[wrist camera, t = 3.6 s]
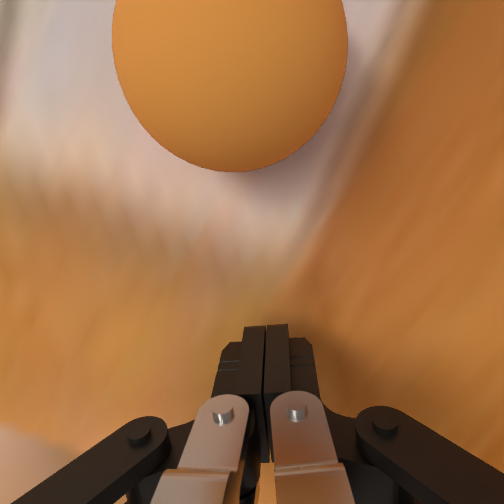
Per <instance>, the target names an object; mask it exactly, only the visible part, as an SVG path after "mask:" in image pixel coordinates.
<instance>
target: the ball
mask: <svg viewBox="0 0 504 504" xmlns="http://www.w3.org/2000/svg"><path fill="white" fill-rule="evenodd" d="M347 47H348V36H347V25H346V18H345V13H344V9H343V4H342V0H116V4H115V9H114V14H113V25H112V49H113V56H114V63H115V68H116V72H117V75H118V79H119V82H120V85H121V88H122V90H123V93H124V95H125V98H126V100H127V102H128V104H129V106H130V108H131V109H132V111H133V113H134V115H135V116H136V117H137V119H138V120H139V122H140V123H141V125H142V126H143V127H144V128H145V129H146V131H147V132H148V133H149V134H150V135H151V136H152V137H153V138H154V139H155V140H156V141H157V142H158V143H159V144H160V145H162V146H163V147H164V148H165V149H167V150H168V151H170V152H171V153H173V154H174V155H176V156H178V157H179V158H181V159H183V160H185V161H187V162H189V163H191V164H194V165H197V166H199V167H202V168H206V169H210V170H215V171H223V172H244V171H250V170H256V169H260V168H263V167H266V166H269V165H272V164H274V163H276V162H278V161H280V160H283V159H284V158H286V157H288V156H289V155H291V154H292V153H294V152H295V151H297V150H298V149H299V148H300V147H301V146H303V145H304V144H305V143H306V142H307V141H308V140H309V139H310V138H311V137H312V136H313V135H314V134H315V133H316V132H317V131H318V129H319V128H320V126H321V125H322V124H323V122H324V121H325V120H326V118H327V116H328V115H329V113H330V111H331V109H332V107H333V106H334V104H335V101H336V99H337V96H338V94H339V91H340V89H341V85H342V81H343V78H344V74H345V68H346V61H347Z"/></svg>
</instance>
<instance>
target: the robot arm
mask: <svg viewBox="0 0 504 504" xmlns="http://www.w3.org/2000/svg"><path fill="white" fill-rule="evenodd" d="M270 451H271V459H272V462H274V464H275V469H274V472H275V485H276V497H277V504H504V474H503V473H502V472H500V471H499V470H497V469H495V468H494V467H492V466H490V465H489V464H487V463H485V462H484V461H482V460H480V459H479V458H477V457H475V456H474V455H472V454H471V453H469V452H467V451H466V450H464V449H462V448H461V447H459V446H457V445H456V444H454V443H452V442H451V441H449V440H448V439H446V438H444V437H443V436H441V435H439V434H438V433H436V432H434V431H433V430H431V429H429V428H428V427H426V426H424V425H423V424H421V423H420V422H418V421H416V420H415V419H413V418H411V417H410V416H408V415H406V414H405V413H403V412H401V411H399V410H397V409H394V408H391V407H386V406H374V407H369V408H367V409H365V410H363V411H361V412H360V413H359V414H358V416H357V417H356V419H355V418H350V417H346V416H342V415H339V414H336V413H334V412H332V411H331V410H329V409H328V408H327V407H326V406H325V405H324V404H323V403H322V401H321V398H320V394H319V387H318V381H317V375H316V368H315V362H314V355H313V349H312V345H311V344H310V343H309V342H308V341H307V340H306V339H305V338H304V337H303V338H289V331H288V324H279V325H267V331H266V326H250V327H244V331H243V338H242V342H230V343H229V344H228V345H227V346H226V347H225V348H224V349H223V351H222V353H221V357H220V363H219V366H218V371H217V374H216V378H215V383H214V387H213V391H212V395H211V399H209V400H208V401H206V402H205V403H204V404H203V405H202V406H201V407H200V409H199V411H198V413H197V416H196V419H194V420H193V421H191V422H188V423H186V424H182V425H179V426H176V427H172V428H169V429H168V428H167V425H166V423H165V422H164V421H163V420H162V419H160V418H158V417H154V416H146V417H140V418H137V419H134V420H132V421H130V422H128V423H127V424H125V425H124V426H122V427H121V428H119V429H118V430H116V431H115V432H114V433H112V434H111V435H109V436H108V437H106V438H105V439H103V440H102V441H101V442H99V443H98V444H96V445H95V446H93V447H92V448H90V449H89V450H88V451H86V452H85V453H83V454H82V455H80V456H79V457H77V458H76V459H75V460H73V461H72V462H70V463H69V464H67V465H66V466H65V467H63V468H62V469H60V470H59V471H57V472H56V473H54V474H53V475H52V476H50V477H49V478H47V479H46V480H44V481H43V482H41V483H40V484H38V485H37V486H36V487H34V488H33V489H31V490H30V491H28V492H27V493H25V494H24V495H23V496H21V497H20V498H18V499H17V500H16V501H14V502H13V503H11V504H113V503H115V502H116V501H117V500H118V499H120V498H121V497H122V496H123V495H125V494H126V497H127V502H125V503H124V504H258V500H259V492H260V485H259V478H260V466H261V463H270Z"/></svg>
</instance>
